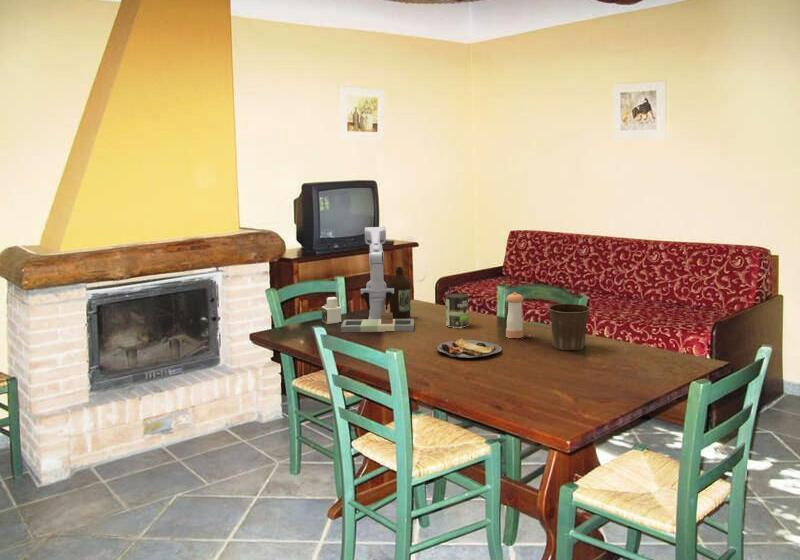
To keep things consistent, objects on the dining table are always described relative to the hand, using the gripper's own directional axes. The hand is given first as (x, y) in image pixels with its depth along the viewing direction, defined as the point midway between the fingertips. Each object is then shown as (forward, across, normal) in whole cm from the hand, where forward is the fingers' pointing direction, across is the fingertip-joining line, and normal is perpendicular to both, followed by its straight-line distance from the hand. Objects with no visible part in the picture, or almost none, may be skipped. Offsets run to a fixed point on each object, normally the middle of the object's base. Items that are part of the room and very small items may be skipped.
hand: (377, 309), depth 330 cm
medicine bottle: (+10, -23, +21) cm, 33 cm away
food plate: (+10, +37, -36) cm, 53 cm away
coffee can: (+10, +35, +9) cm, 38 cm away
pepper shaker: (+10, +58, -13) cm, 60 cm away
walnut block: (+7, +4, +7) cm, 11 cm away
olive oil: (+10, +9, +26) cm, 29 cm away
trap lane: (+10, 0, +7) cm, 12 cm away
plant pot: (+10, +77, -31) cm, 84 cm away
